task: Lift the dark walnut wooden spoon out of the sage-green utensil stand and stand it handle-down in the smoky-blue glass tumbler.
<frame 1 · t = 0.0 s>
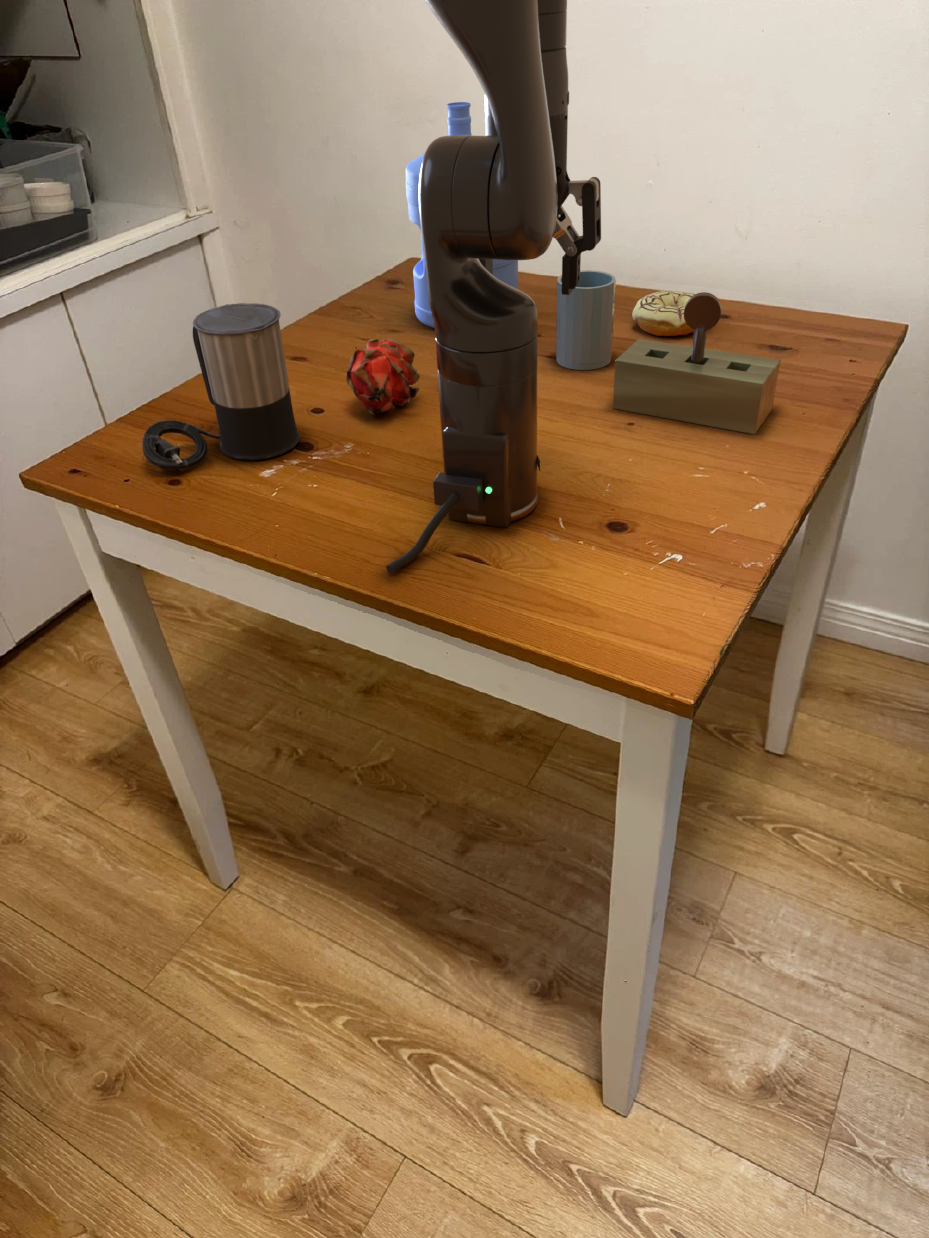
hand: (526, 289, 92), 17 cm above the table, tool pointing down, fingers open, 8 cm apart
decorated donut: (670, 327, 130), on the table
milk frother: (226, 452, 105), on the table
water jug: (467, 316, 138), on the table
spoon: (691, 409, 108), resting in stand
dragon fruit: (386, 407, 113), on the table
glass: (583, 359, 122), on the table
stand: (691, 408, 108), on the table
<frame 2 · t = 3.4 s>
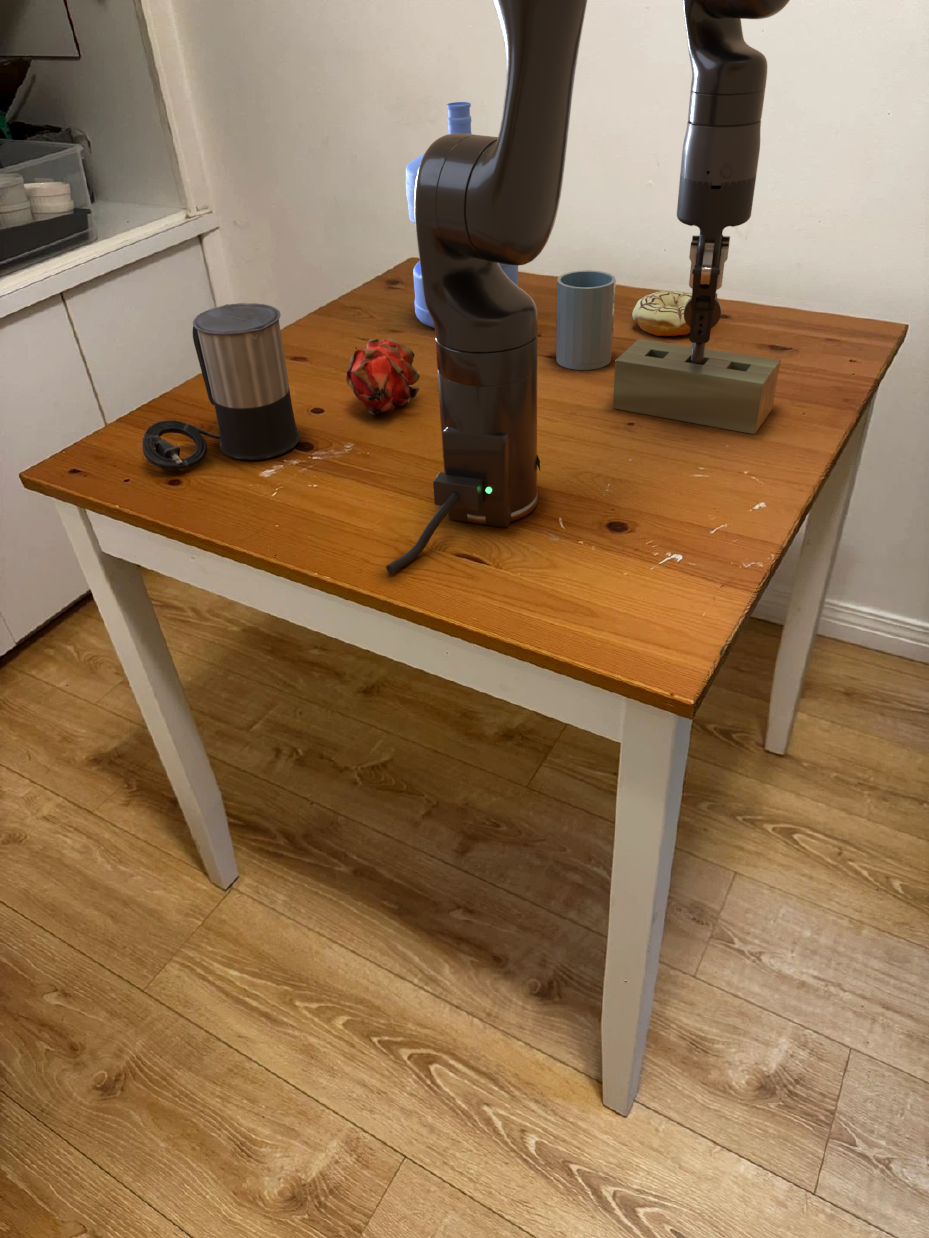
hand: (699, 338, 103), 9 cm above the table, tool pointing down, fingers closed on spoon, 1 cm apart
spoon: (691, 409, 108), resting in stand, touching gripper
everything else where it was.
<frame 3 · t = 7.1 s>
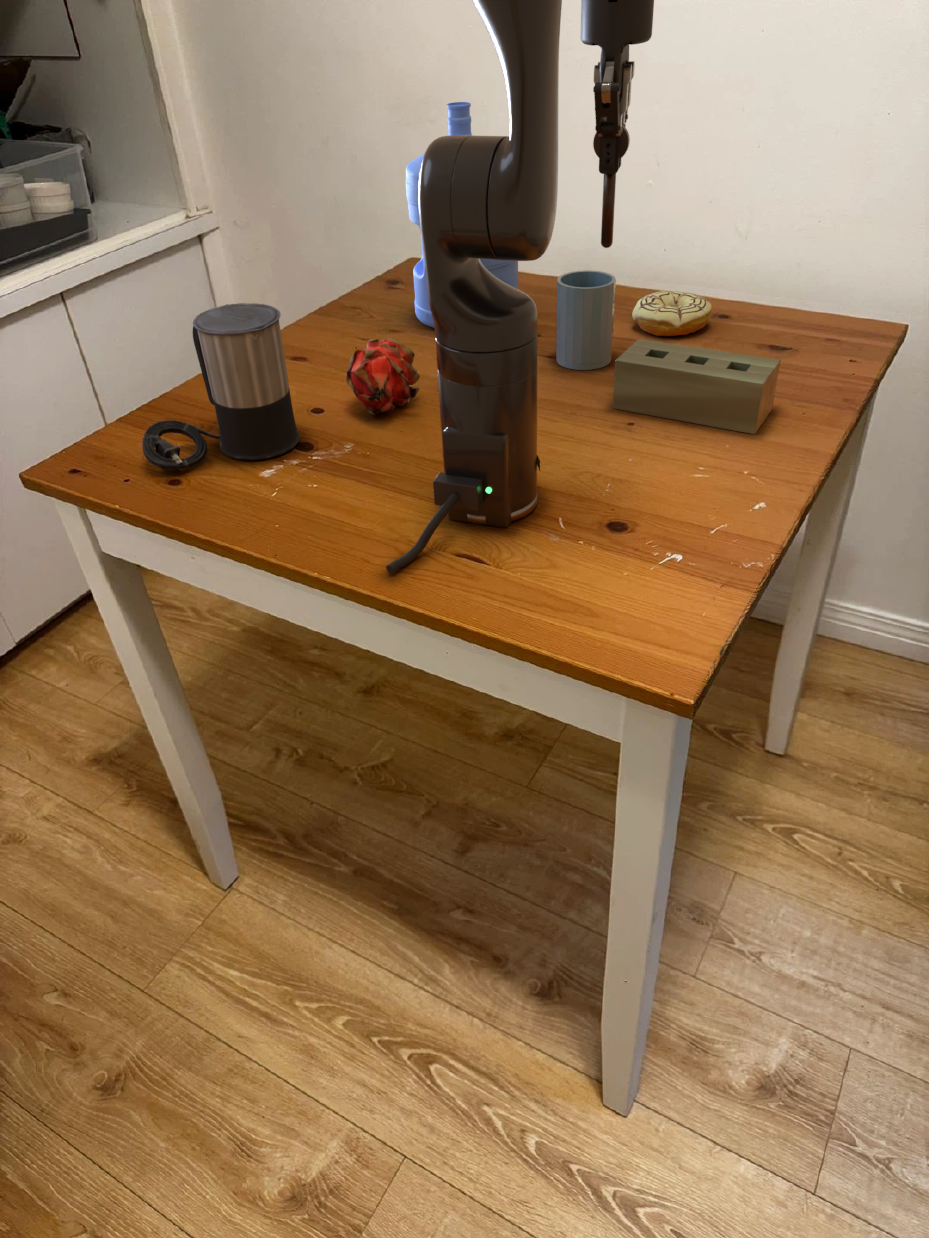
hand: (609, 170, 105), 23 cm above the table, tool pointing down, fingers closed on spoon, 1 cm apart
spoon: (606, 247, 110), point 15 cm above the table, touching gripper
everything else where it was.
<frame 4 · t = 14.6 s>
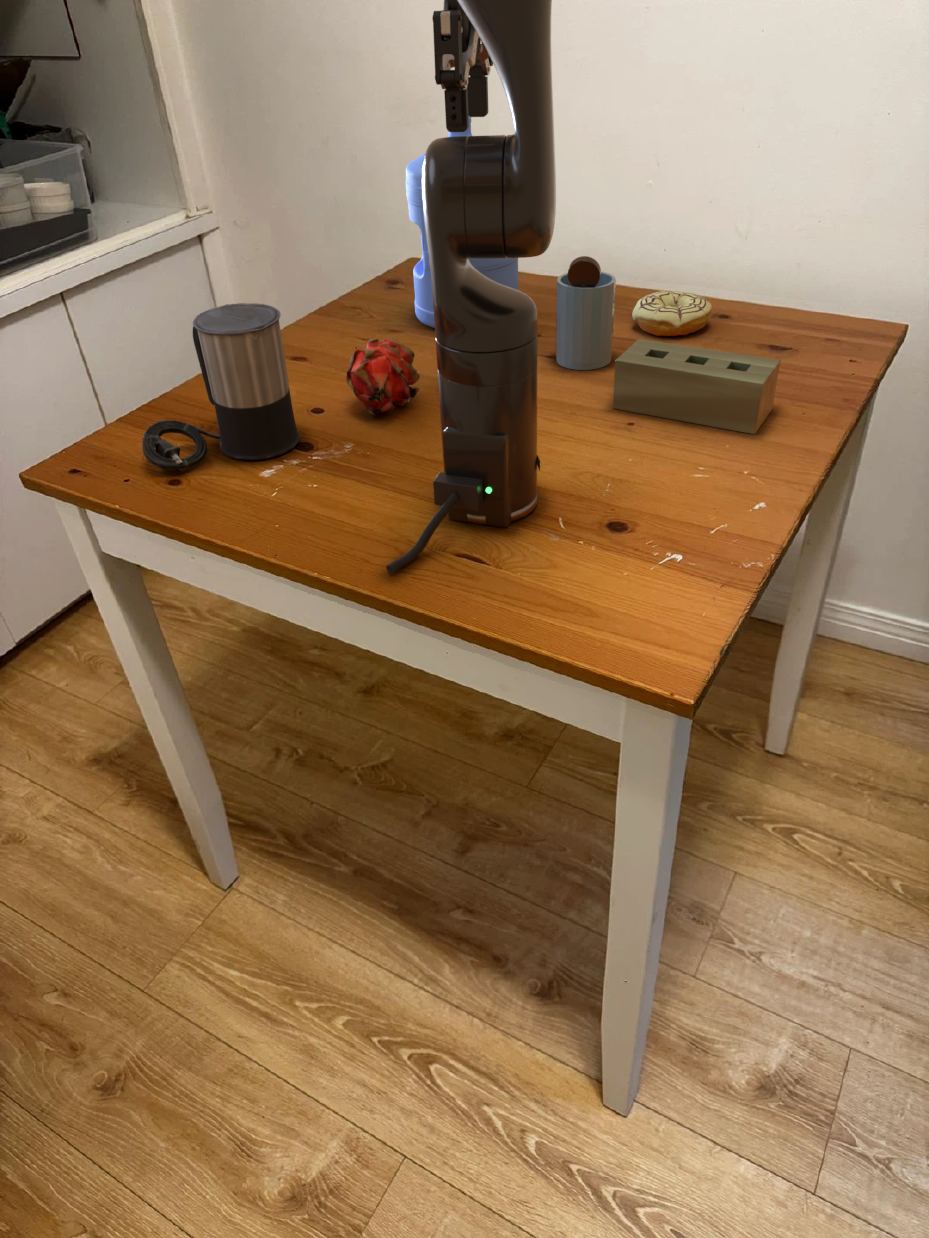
hand: (468, 124, 96), 30 cm above the table, tool pointing down, fingers open, 8 cm apart
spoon: (584, 353, 121), point 1 cm above the table, tilted 14°, touching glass
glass: (583, 359, 122), on the table, touching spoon
everything else where it was.
at the end: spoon 0.0 cm off-centre in the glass, point 0.8 cm above the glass's base; the gripper is holding nothing; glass tilted 0° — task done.
